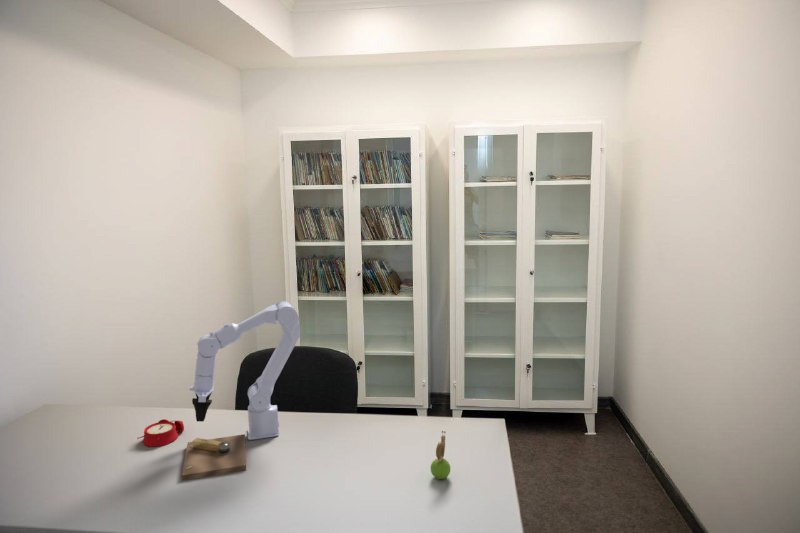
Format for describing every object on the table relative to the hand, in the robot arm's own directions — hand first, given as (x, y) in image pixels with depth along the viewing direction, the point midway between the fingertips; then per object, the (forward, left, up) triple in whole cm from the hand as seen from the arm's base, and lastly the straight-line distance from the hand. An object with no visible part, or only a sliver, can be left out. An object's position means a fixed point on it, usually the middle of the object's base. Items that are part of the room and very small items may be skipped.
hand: (200, 416), depth 166 cm
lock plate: (-4, +11, -9) cm, 15 cm away
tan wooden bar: (-3, +9, -7) cm, 12 cm away
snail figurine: (-64, +42, -9) cm, 77 cm away
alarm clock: (+12, -9, -10) cm, 18 cm away
